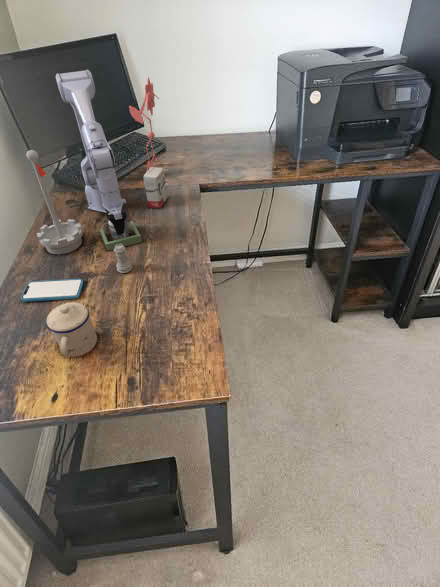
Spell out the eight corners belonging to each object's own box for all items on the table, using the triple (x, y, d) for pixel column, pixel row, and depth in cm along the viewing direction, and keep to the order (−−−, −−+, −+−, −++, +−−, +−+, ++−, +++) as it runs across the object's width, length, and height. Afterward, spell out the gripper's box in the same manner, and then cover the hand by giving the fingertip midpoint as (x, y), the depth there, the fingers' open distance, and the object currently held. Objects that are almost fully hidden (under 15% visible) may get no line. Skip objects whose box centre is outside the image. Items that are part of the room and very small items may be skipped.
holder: (101, 235, 125) (99, 228, 124) (134, 227, 128) (132, 220, 127) (107, 250, 118) (105, 244, 117) (141, 241, 122) (140, 235, 120)
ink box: (161, 208, 137) (156, 177, 129) (148, 207, 138) (142, 176, 130) (168, 197, 144) (164, 167, 136) (155, 196, 144) (151, 166, 137)
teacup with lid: (64, 330, 93) (48, 294, 86) (101, 327, 93) (89, 291, 86) (50, 370, 84) (31, 334, 77) (92, 367, 84) (77, 331, 77)
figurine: (138, 185, 152) (120, 88, 129) (151, 159, 172) (137, 71, 149) (177, 185, 151) (165, 86, 128) (185, 159, 170) (176, 69, 147)
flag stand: (35, 245, 122) (-5, 152, 102) (71, 228, 129) (41, 138, 109) (56, 261, 115) (17, 164, 95) (93, 242, 122) (64, 148, 102)
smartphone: (77, 296, 101) (20, 299, 101) (79, 299, 102) (21, 302, 101) (83, 278, 107) (28, 281, 106) (84, 281, 108) (30, 284, 107)
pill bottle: (122, 231, 127) (116, 207, 121) (132, 236, 124) (127, 212, 118) (109, 238, 124) (102, 214, 118) (119, 244, 121) (113, 219, 115)
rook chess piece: (135, 266, 112) (130, 243, 107) (127, 275, 109) (121, 252, 104) (121, 263, 113) (116, 240, 108) (114, 272, 110) (107, 249, 105)
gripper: (128, 196, 109) (136, 236, 118) (117, 176, 119) (125, 215, 128) (103, 201, 107) (114, 242, 116) (94, 181, 117) (104, 220, 126)
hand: (118, 228), depth 122 cm, fingers open, 5 cm apart
